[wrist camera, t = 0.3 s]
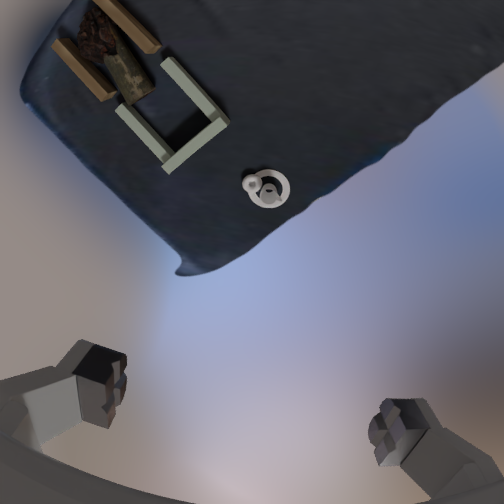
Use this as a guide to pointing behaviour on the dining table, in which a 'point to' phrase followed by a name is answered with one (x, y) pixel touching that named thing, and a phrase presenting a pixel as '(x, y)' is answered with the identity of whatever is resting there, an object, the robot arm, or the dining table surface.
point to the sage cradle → (216, 125)
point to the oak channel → (83, 65)
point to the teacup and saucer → (266, 199)
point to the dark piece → (113, 54)
